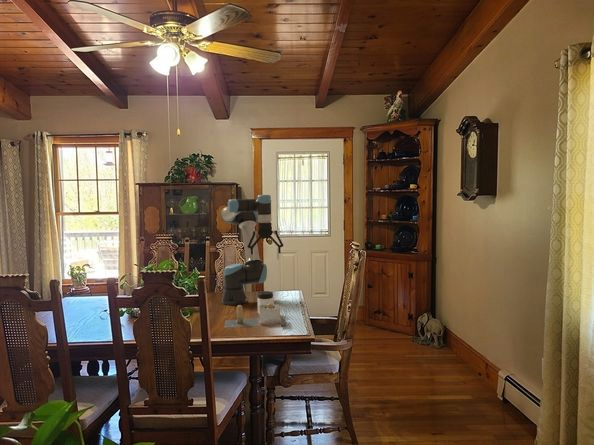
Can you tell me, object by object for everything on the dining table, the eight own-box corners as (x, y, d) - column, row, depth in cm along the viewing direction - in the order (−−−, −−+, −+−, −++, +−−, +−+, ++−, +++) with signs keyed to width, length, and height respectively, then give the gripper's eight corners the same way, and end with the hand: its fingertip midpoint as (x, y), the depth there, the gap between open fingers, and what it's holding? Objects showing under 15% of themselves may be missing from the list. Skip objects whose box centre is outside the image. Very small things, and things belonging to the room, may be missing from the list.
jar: (276, 315, 229) (275, 293, 228) (262, 317, 225) (261, 295, 225) (269, 311, 237) (269, 290, 236) (256, 313, 233) (255, 292, 233)
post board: (224, 329, 204) (223, 309, 204) (225, 321, 218) (225, 302, 218) (286, 326, 208) (285, 306, 207) (283, 318, 222) (283, 299, 221)
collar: (280, 323, 209) (280, 308, 209) (260, 324, 208) (259, 310, 208) (279, 317, 219) (278, 304, 219) (259, 318, 218) (259, 305, 218)
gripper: (242, 223, 234) (243, 261, 235) (287, 221, 236) (288, 259, 237) (242, 222, 241) (243, 259, 242) (286, 221, 244) (287, 258, 245)
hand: (265, 259), depth 240 cm, fingers open, 13 cm apart
